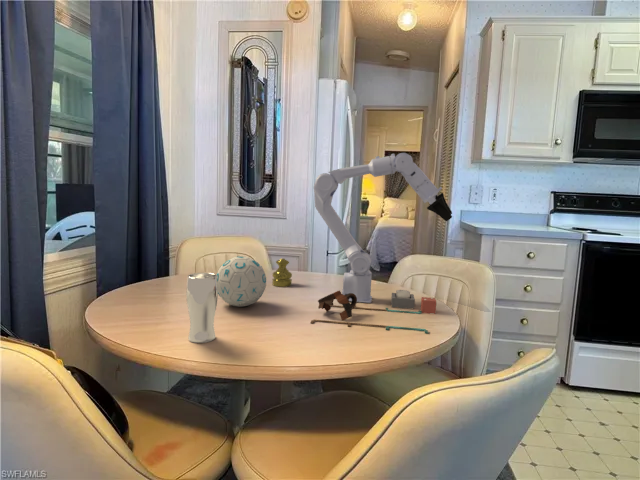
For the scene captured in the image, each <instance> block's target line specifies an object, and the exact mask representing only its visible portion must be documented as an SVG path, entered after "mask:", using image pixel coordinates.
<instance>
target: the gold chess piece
mask: <svg viewBox="0 0 640 480" xmlns="http://www.w3.org/2000/svg"><path fill="white" fill-rule="evenodd" d="M275 264H276V265H278V268H276V270H274V271H273V272H272V274H271V275H272V277H273V278H272V280H271V281H272V286H274V287H277V288H279V287H280V288H286V287H291V286H292V283H293V281H292V280H293V279H292V276H293V273H292V272H291V271H289V269H288V268H287V266H288V265H289V264H290V261H289V260H287V259H286V258H280V259H277V260H276V261H275Z"/></svg>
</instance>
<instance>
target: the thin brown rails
mask: <svg viewBox="0 0 640 480" xmlns="http://www.w3.org/2000/svg"><path fill="white" fill-rule="evenodd" d="M330 307H331V308H340V309H341V308H343V309H344V307H343V305H330ZM354 309H355V310H369V311H377V312H390V311H391V312H390V313H403V312H404V313H405V314H415V313H416V314H418V315H421V314H423V313H422V311H421V309H418V311H410V310H409V311H408V310H398V309H397V310H396V309H389V307H385V309H384V308H372V307H370V308H369V307H361V306H360V307H358V306H357V304H356V305H355V306H354V308H353V309H352V310H354ZM315 322H317V323H329V324H341V325H347V327H348V328H350V327H352V326H361V327H362V326H363V327H375V328H385V331H390V329H395V330H396V329H399V330H408V331H421V332H424V334H427V335H428V334H429V331H428V330H427V329H426V328H420V327H417V328H416V327H409V326H396V325H394V326H393V325H382V324H372V323H371V324H370V323H362V322H361V323H360V322H357V323H356V322H347V321H336V320H328V319H327V320H323V319H312V320H311V321H310V324H312V325H314V323H315Z"/></svg>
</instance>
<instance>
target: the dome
mask: <svg viewBox="0 0 640 480" xmlns="http://www.w3.org/2000/svg"><path fill="white" fill-rule="evenodd" d="M395 293H396V297H397V298H410V294H411V291H409V290H405V289H397V290H396V292H395Z"/></svg>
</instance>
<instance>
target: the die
mask: <svg viewBox="0 0 640 480" xmlns="http://www.w3.org/2000/svg"><path fill="white" fill-rule="evenodd" d="M420 299H421V301H420V310H421V311H422V313H421V314H430V313H434V314H433V315H436V311H437V300H436V298H435V297H428V296H426V297H425V296H421V298H420Z"/></svg>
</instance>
